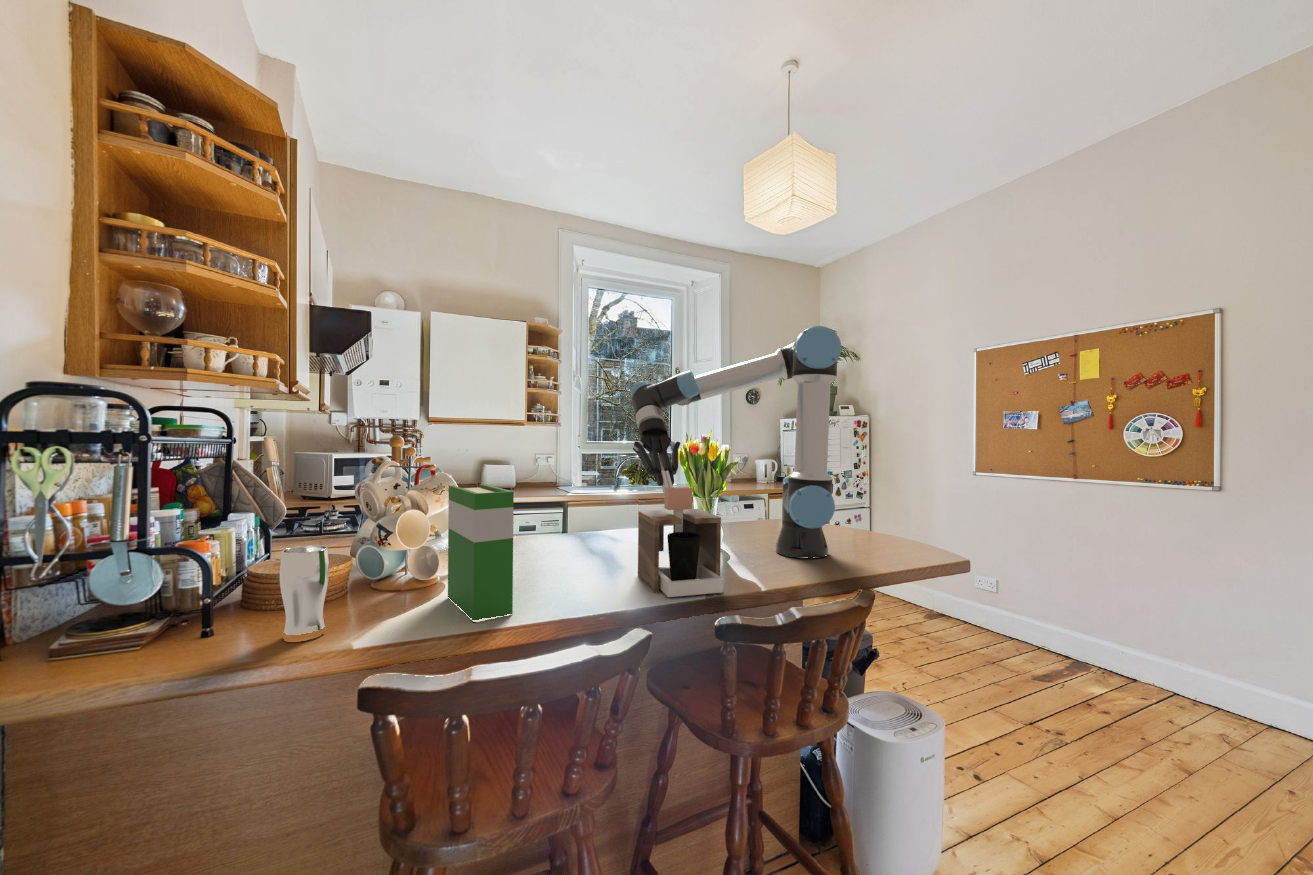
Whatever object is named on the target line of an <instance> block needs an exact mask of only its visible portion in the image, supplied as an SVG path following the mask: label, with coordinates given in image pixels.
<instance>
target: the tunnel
mask: <svg viewBox="0 0 1313 875" xmlns="http://www.w3.org/2000/svg"><path fill="white" fill-rule="evenodd" d="M637 514H638V517H637V518H638V521H637V522H638V524H637V526H638V527H637V531H638V533H637V542H638V543H637V576H638V578H639V579H640V580H641V581H642V582H643V583H644V584H645V585H646V586H647V587H648V588H649V589H650V590H651V591H652V592H653V593H655V594H656V593H658V594H659V590H660V589H659V566H660V552H664V549H665V548H664V544H665V543H664V539H665V538H664V530H665V527H664V526H673V525H680V524H682V519H681V518H679V517H676V516H674V515H673V514H672V513H670V512H668V511H666V510H664V509H663V510H662V509H659V510H657V509H655V510H654V509H653V510H638V513H637ZM721 531H722V517H720V516H718V515H715V514H713V513H711V512H707V511H705V510H702V509H700V508H692V509H683V532H691V533H696V534H699V535H700V545H699V555H698V565H703V566H705V567H706V568H708V569H709V570H711V571H712V572H714V573H715V574H717V575H718V576H720V577H721V553H722V552H721V549H722V548H721V546H722V543H721V542H722V541H721V540H722V539H721V536H722V532H721Z"/></svg>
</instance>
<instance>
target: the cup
mask: <svg viewBox="0 0 1313 875" xmlns="http://www.w3.org/2000/svg"><path fill="white" fill-rule="evenodd" d="M699 545H700V535H699V534H696V533H691V532H674V533H673V532H671V533H668V534H667V547H668V549H667V550H668V562H669V567H670V576H671V581H680V580H693V579H696V575H697V565H698V555H699Z"/></svg>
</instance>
